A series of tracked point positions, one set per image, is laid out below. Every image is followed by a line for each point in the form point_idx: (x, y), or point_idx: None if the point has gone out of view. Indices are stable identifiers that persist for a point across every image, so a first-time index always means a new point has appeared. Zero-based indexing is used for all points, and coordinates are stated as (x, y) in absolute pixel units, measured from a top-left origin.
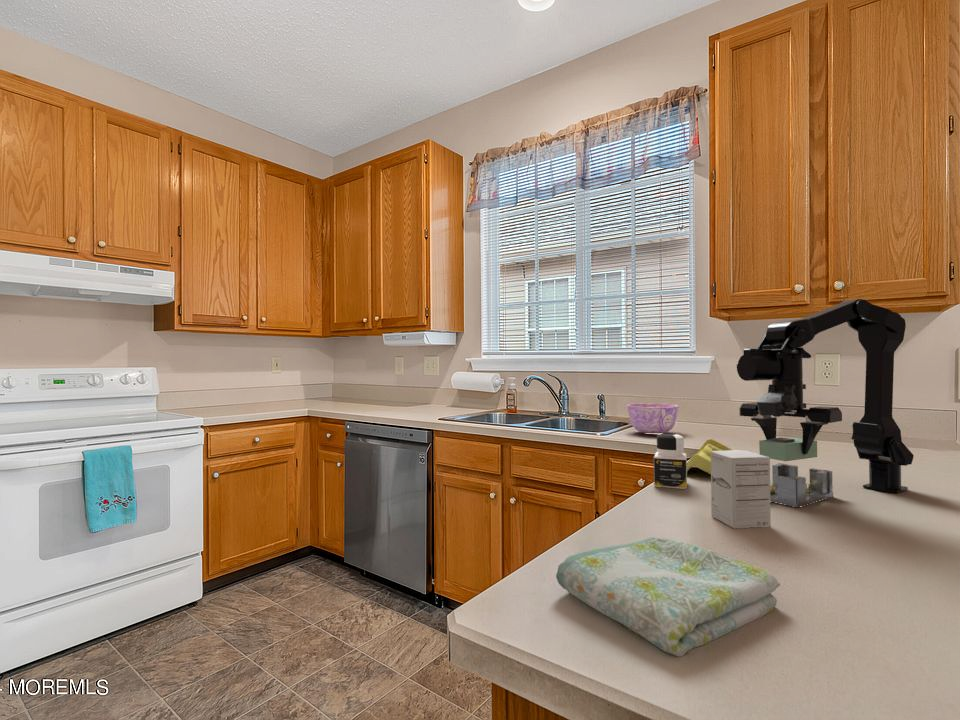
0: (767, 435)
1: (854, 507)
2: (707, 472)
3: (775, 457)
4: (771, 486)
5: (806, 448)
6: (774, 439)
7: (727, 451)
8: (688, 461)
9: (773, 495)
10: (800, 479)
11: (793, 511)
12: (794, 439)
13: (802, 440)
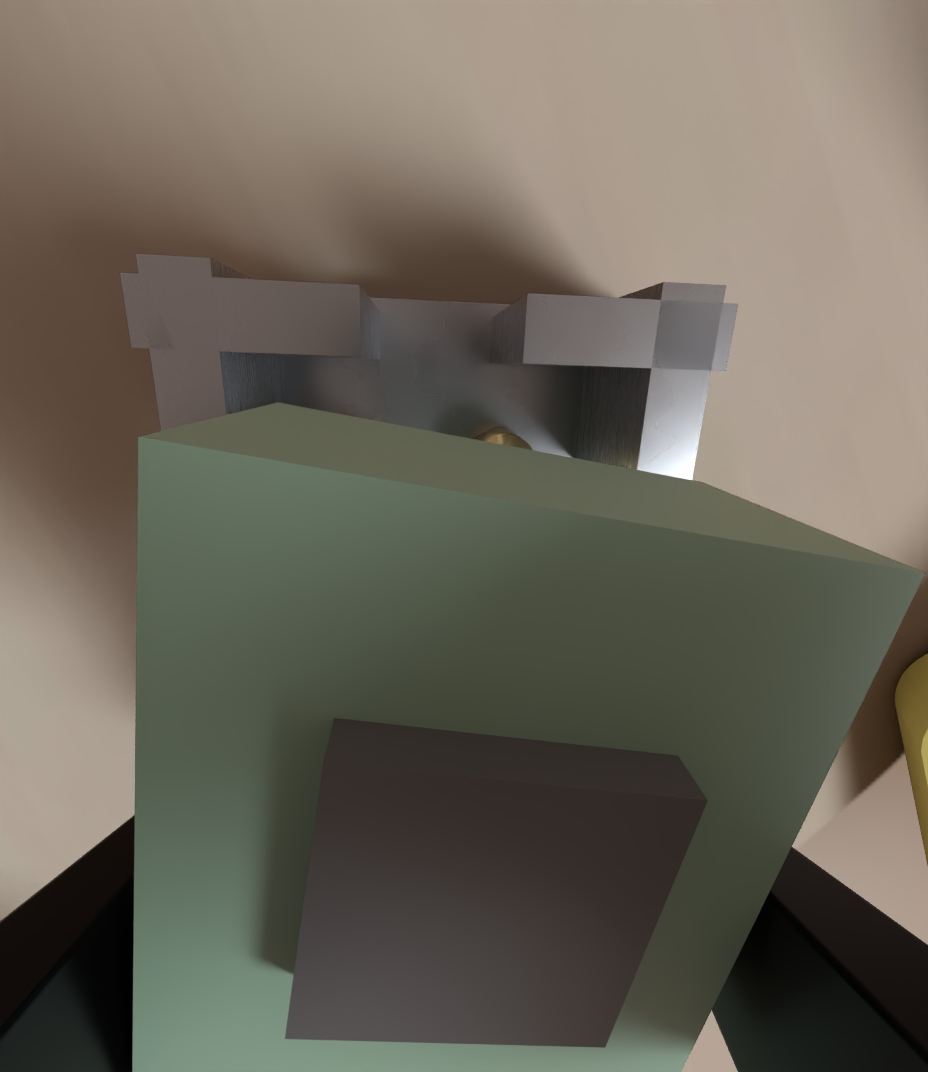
0: (894, 972)
1: (66, 619)
2: None
3: (451, 440)
4: (491, 440)
5: (87, 858)
6: (630, 779)
7: None
8: None
9: (447, 384)
10: (133, 341)
11: (195, 171)
12: (287, 1030)
13: (31, 1003)
